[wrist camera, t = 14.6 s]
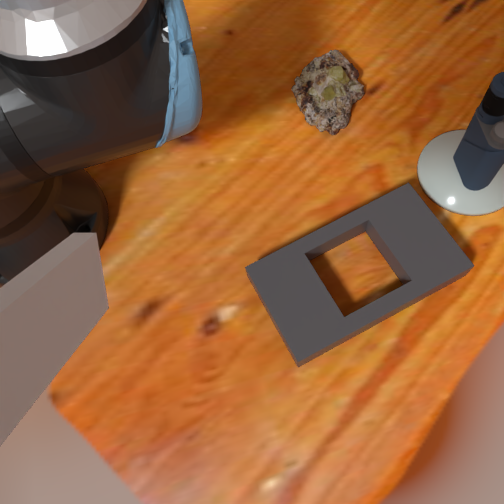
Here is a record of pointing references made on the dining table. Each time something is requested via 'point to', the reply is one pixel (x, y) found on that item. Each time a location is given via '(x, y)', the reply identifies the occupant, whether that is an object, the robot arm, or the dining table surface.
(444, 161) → the coaster
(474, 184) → the vaping device
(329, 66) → the mineral rock
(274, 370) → the dining table surface
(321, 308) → the block
